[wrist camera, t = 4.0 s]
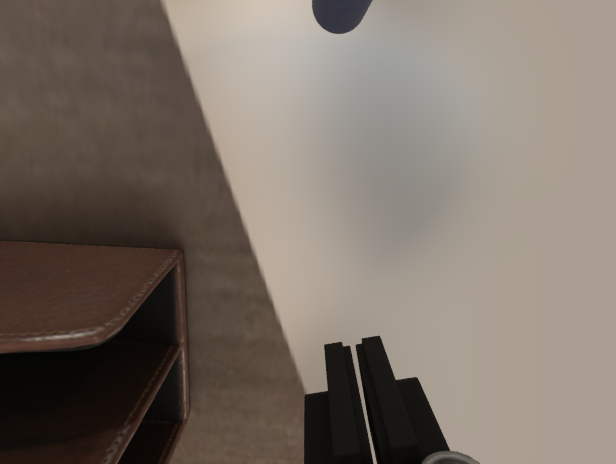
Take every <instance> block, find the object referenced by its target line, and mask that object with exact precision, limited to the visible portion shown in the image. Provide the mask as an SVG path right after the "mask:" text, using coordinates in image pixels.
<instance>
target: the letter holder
mask: <svg viewBox="0 0 616 464" xmlns="http://www.w3.org/2000/svg"><path fill="white" fill-rule="evenodd" d="M186 323H187V319H186V296H185V276H184V259H183V251H182V250H177V249H156V248H155V249H153V248H136V247H122V246H118V247H114V246H99V245H97V246H91V245H74V244H59V243H42V242H39V243H37V242H19V241H15V242H14V241H3V240H0V464H169V463H170V461H171V458H172V455H173V453H174V451H175V448H176V446H177V444H178V441H179V439H180V437H181V434H182V432H183V429H184V427H185V425H186V424H187V421H188V417H189V411H190V406H189V379H188V377H189V372H188V348H187V324H186Z"/></svg>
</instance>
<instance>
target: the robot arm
mask: <svg viewBox="0 0 616 464" xmlns="http://www.w3.org/2000/svg"><path fill="white" fill-rule="evenodd" d="M324 349H325V360H326V372H327V383H328V391H325V392H319V393H313V394H306V395H305V412H304V464H373V459H372V454H371V449H370V443H369V438H368V433H367V428H366V423H365V418H364V413H363V409H362V403H361V398H360V393H359V388H358V383H357V378H356V374H355V369H354V364H353V359H352V354H351V349H350V346H345V347H343V345H342V342H338V343H332V344H326V345H324ZM356 351H357V357H358V363H359V369H360V375H361V381H362V386H363V392H364V398H365V404H366V410H367V416H368V422H369V427H370V432H371V436H372V442H373V446H374V450H375V456H376V461H377V464H480V463H479V462H477V461H475V460H474V459H473V458H471V457H470V456H468V455H465V454H462V453H459V452H454V451H450V449H449V447H448V445H447V443H446V440H445V438H444V436H443V434H442V432H441V429H440V427H439V425H438V422H437V420H436V418H435V416H434V414H433V411H432V409H431V407H430V405H429V402H428V400H427V398H426V395H425V393H424V391H423V389H422V387H421V384H420V382H419V380H418V378H416V377H413V378H407V379H401V380H395V377H394V374H393V372H392V369H391V366H390V363H389V360H388V357H387V354H386V352H385V349H384V346H383V343H382V340H381V338H380V336H374V337H368V338H362V344H357V345H356Z"/></svg>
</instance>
